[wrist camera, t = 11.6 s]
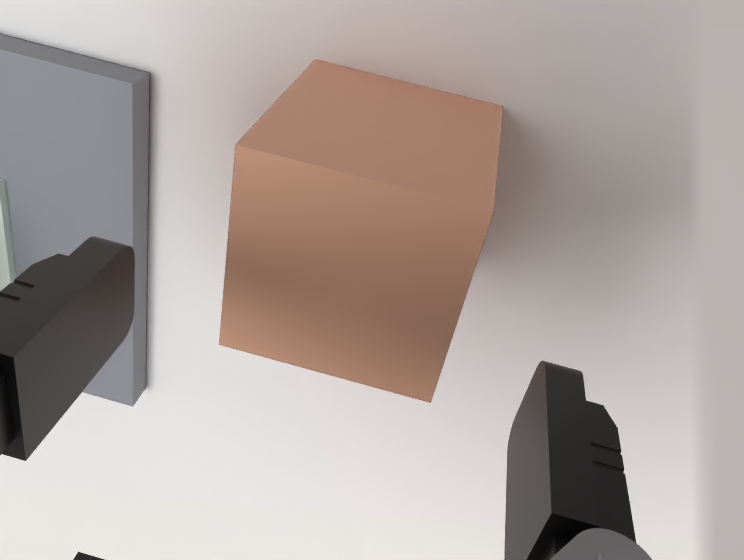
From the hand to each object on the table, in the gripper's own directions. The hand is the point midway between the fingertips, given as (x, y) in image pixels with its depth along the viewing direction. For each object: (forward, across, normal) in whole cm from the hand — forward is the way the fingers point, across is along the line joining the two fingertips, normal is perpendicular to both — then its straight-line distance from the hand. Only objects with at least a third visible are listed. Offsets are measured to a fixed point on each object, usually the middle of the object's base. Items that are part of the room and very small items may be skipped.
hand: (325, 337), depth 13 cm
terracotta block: (+7, 0, 0) cm, 7 cm away
